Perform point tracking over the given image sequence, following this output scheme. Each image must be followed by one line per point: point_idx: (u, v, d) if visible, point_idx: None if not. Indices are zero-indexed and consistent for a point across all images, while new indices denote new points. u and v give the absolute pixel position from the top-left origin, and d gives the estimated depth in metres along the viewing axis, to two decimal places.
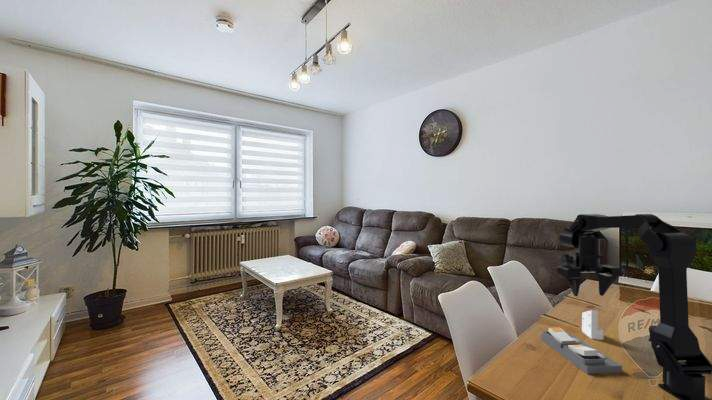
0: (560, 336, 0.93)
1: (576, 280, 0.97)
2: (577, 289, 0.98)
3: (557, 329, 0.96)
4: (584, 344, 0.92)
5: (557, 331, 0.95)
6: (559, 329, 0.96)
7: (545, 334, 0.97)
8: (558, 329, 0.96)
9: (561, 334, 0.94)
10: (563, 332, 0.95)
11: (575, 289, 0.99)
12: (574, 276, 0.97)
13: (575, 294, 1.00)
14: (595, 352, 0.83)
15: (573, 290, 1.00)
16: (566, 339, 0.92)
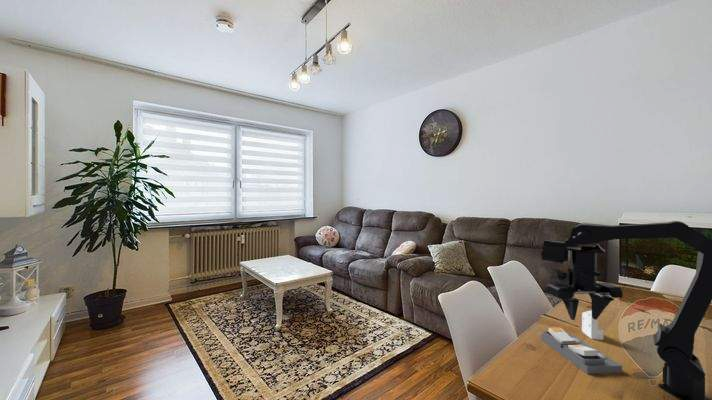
0: (560, 336, 0.93)
1: (572, 302, 0.82)
2: (574, 312, 0.84)
3: (557, 329, 0.96)
4: (584, 344, 0.92)
5: (557, 331, 0.95)
6: (559, 329, 0.96)
7: (545, 334, 0.97)
8: (558, 329, 0.96)
9: (561, 334, 0.94)
10: (563, 332, 0.95)
11: (572, 312, 0.84)
12: (566, 297, 0.82)
13: (572, 317, 0.85)
14: (595, 352, 0.83)
15: (569, 313, 0.85)
16: (566, 339, 0.92)
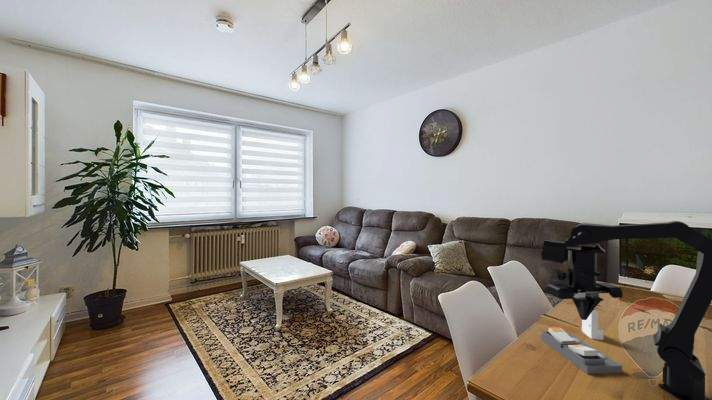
0: (560, 336, 0.93)
1: (583, 302, 0.82)
2: (585, 312, 0.84)
3: (557, 329, 0.96)
4: (584, 344, 0.92)
5: (557, 331, 0.95)
6: (559, 329, 0.96)
7: (545, 334, 0.97)
8: (558, 329, 0.96)
9: (561, 334, 0.94)
10: (563, 332, 0.95)
11: (582, 312, 0.84)
12: (566, 297, 0.82)
13: (582, 317, 0.85)
14: (595, 352, 0.83)
15: (580, 313, 0.85)
16: (566, 339, 0.92)
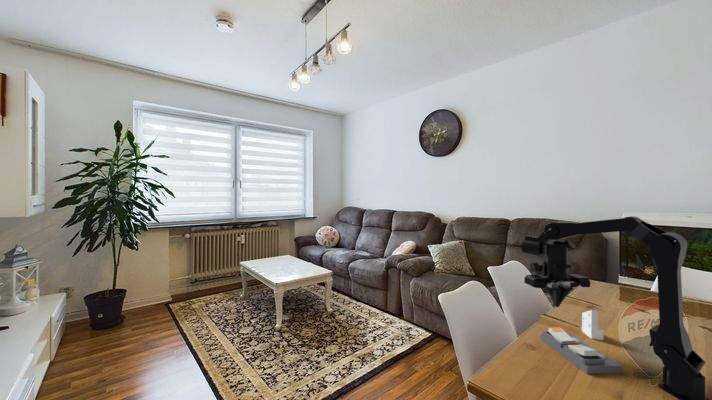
0: (560, 336, 0.93)
1: (555, 291, 0.93)
2: (557, 300, 0.95)
3: (557, 329, 0.96)
4: (584, 344, 0.92)
5: (557, 331, 0.95)
6: (559, 329, 0.96)
7: (545, 334, 0.97)
8: (558, 329, 0.96)
9: (561, 334, 0.94)
10: (563, 332, 0.95)
11: (555, 299, 0.95)
12: (540, 286, 0.93)
13: (555, 305, 0.96)
14: (595, 352, 0.83)
15: (553, 300, 0.96)
16: (566, 339, 0.92)
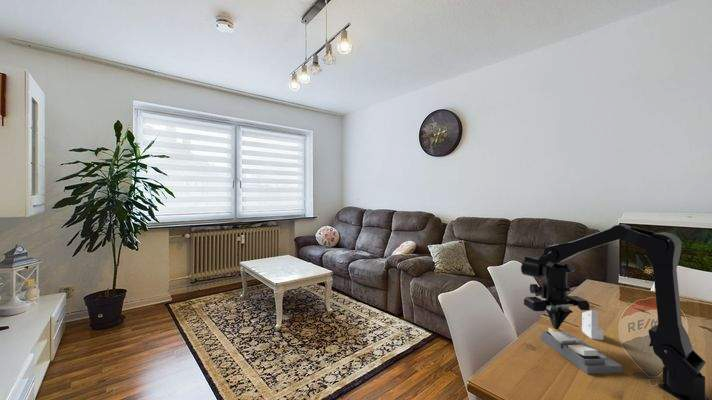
0: (560, 336, 0.93)
1: (555, 314, 0.94)
2: (556, 322, 0.95)
3: (557, 329, 0.96)
4: (584, 344, 0.92)
5: (557, 331, 0.95)
6: (559, 329, 0.96)
7: (545, 334, 0.97)
8: (558, 329, 0.96)
9: (561, 334, 0.94)
10: (563, 332, 0.95)
11: (554, 322, 0.96)
12: (540, 310, 0.93)
13: (554, 327, 0.96)
14: (595, 352, 0.83)
15: (552, 323, 0.97)
16: (566, 339, 0.92)
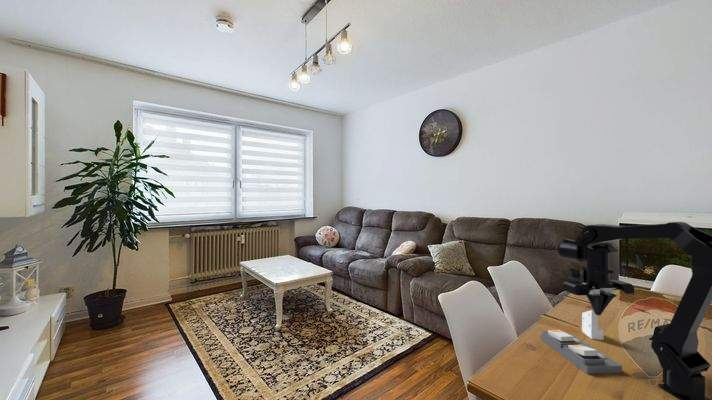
0: (559, 334, 0.94)
1: (598, 298, 0.88)
2: (599, 307, 0.89)
3: (556, 330, 0.97)
4: (584, 344, 0.92)
5: (556, 332, 0.96)
6: (558, 330, 0.97)
7: (545, 334, 0.97)
8: (557, 330, 0.97)
9: (560, 333, 0.95)
10: (562, 332, 0.95)
11: (597, 307, 0.89)
12: (582, 294, 0.87)
13: (597, 313, 0.90)
14: (595, 352, 0.83)
15: (594, 308, 0.90)
16: (565, 335, 0.92)
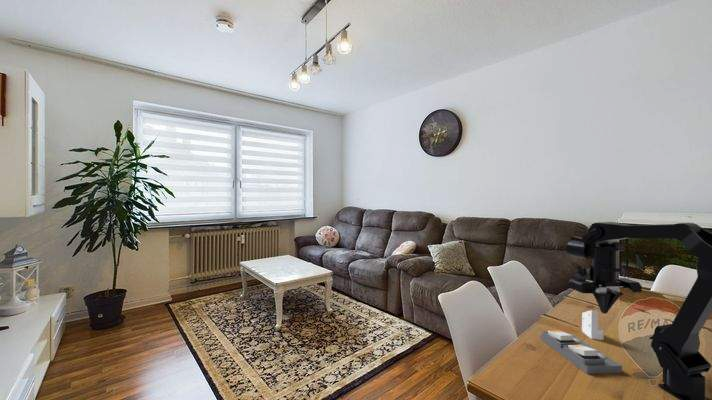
0: (559, 334, 0.94)
1: (604, 296, 0.87)
2: (605, 306, 0.88)
3: (555, 331, 0.97)
4: (584, 344, 0.92)
5: (555, 332, 0.96)
6: (557, 331, 0.97)
7: (545, 334, 0.97)
8: (556, 331, 0.97)
9: (560, 333, 0.95)
10: (562, 332, 0.96)
11: (603, 306, 0.89)
12: (588, 292, 0.86)
13: (603, 311, 0.89)
14: (595, 352, 0.83)
15: (600, 306, 0.90)
16: (565, 335, 0.92)
